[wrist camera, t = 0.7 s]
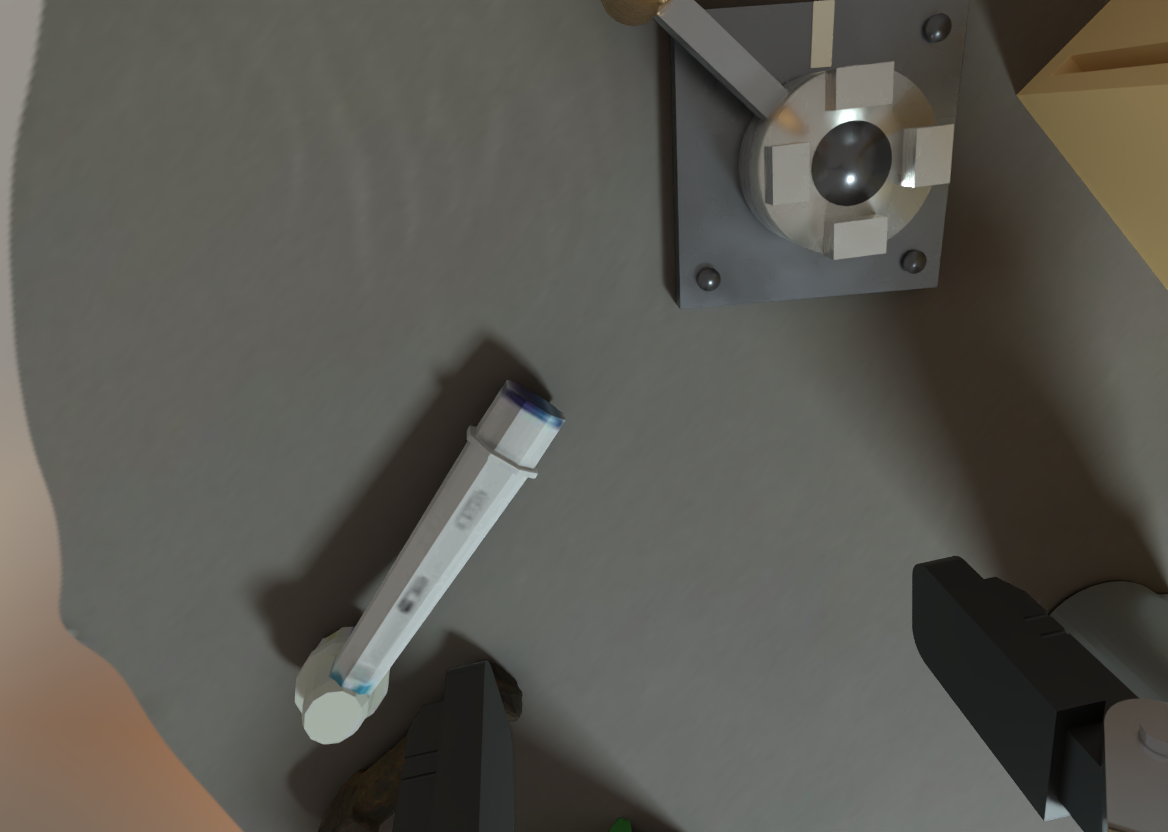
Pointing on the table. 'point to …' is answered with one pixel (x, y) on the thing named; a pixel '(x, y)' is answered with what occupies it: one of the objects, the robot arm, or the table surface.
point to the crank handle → (818, 138)
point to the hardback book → (621, 826)
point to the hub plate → (719, 122)
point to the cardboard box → (1115, 118)
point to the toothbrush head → (426, 564)
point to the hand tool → (393, 777)
